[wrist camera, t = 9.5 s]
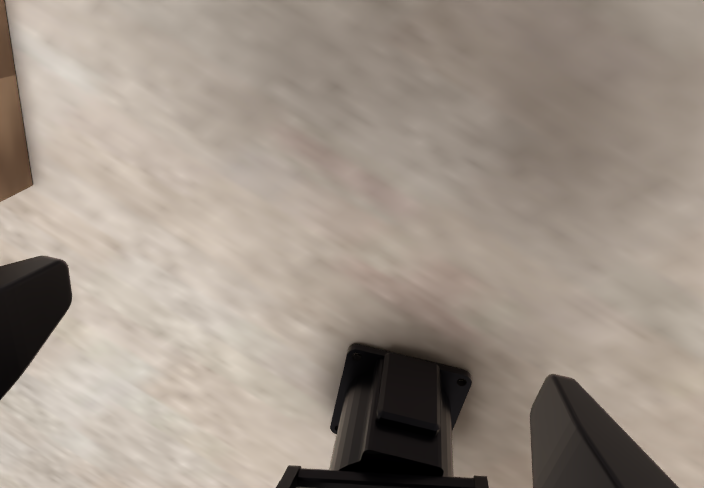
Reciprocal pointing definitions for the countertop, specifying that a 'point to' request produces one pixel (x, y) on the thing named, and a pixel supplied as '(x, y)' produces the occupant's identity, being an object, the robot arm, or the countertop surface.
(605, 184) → the countertop surface
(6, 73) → the brown slotted board
